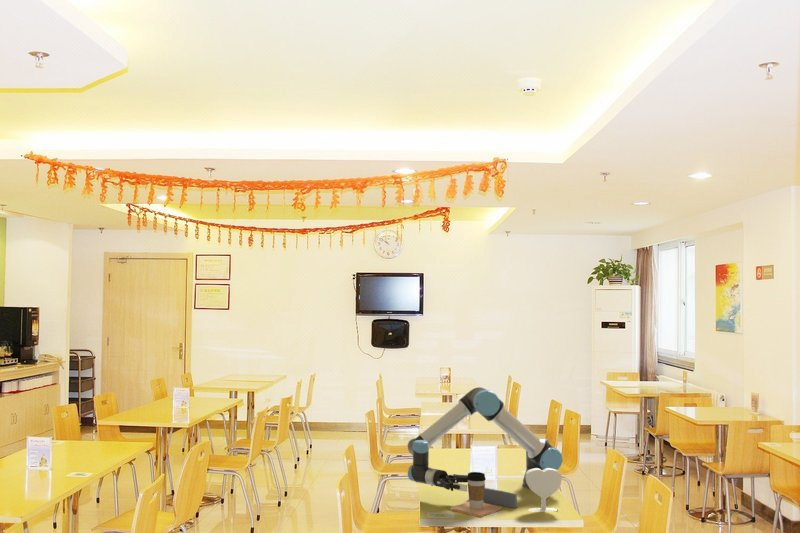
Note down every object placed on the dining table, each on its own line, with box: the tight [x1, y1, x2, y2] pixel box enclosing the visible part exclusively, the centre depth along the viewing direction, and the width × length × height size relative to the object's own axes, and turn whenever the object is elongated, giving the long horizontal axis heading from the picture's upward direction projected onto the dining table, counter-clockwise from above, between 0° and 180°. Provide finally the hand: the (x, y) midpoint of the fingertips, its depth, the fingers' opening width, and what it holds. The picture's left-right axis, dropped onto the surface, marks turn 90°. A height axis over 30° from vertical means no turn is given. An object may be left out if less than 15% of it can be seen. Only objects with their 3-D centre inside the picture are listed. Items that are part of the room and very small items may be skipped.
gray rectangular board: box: [483, 487, 518, 509], centre depth 313 cm, size 2×24×6 cm, turn 50°
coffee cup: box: [467, 471, 487, 509], centre depth 303 cm, size 8×8×15 cm
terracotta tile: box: [450, 500, 502, 518], centre depth 302 cm, size 16×16×1 cm
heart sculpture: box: [524, 468, 562, 513], centre depth 303 cm, size 16×5×18 cm, turn 93°
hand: (475, 485), depth 303 cm, fingers open, 13 cm apart
